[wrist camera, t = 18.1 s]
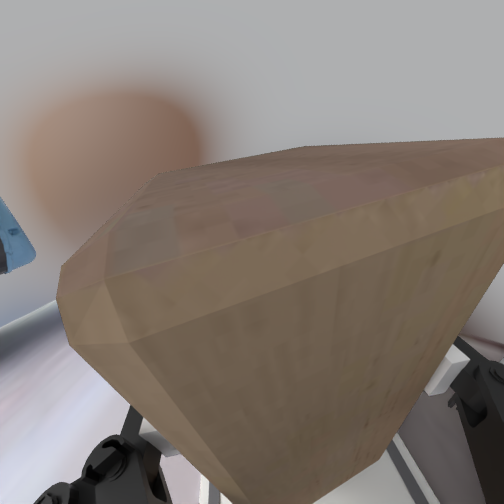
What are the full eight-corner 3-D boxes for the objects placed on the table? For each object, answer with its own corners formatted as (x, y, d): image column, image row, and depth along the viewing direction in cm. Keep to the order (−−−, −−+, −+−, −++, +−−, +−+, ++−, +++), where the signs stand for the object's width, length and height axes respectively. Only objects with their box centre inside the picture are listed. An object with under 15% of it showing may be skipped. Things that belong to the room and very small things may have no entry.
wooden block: (307, 341, 22) (309, 143, 12) (387, 456, 14) (615, 126, 4) (224, 377, 20) (140, 175, 10) (258, 542, 12) (-76, 312, 1)
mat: (209, 362, 23) (208, 360, 23) (337, 335, 24) (337, 332, 23) (189, 691, 9) (185, 695, 9) (497, 604, 10) (501, 605, 10)
